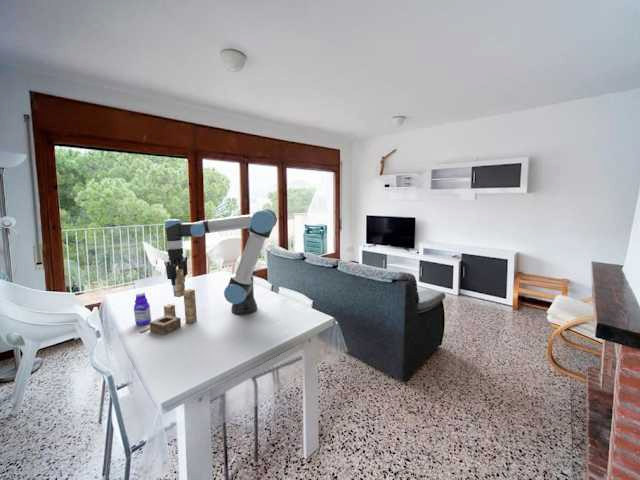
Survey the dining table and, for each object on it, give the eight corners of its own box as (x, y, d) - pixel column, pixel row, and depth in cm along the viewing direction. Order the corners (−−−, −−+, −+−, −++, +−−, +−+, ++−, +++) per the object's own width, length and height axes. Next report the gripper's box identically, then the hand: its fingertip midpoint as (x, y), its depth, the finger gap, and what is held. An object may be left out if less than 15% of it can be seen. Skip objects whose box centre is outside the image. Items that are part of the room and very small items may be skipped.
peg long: (191, 319, 161) (189, 288, 158) (196, 320, 159) (194, 289, 157) (185, 322, 157) (183, 291, 154) (191, 323, 156) (189, 292, 153)
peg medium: (179, 294, 162) (177, 268, 159) (185, 294, 160) (182, 268, 158) (174, 296, 158) (171, 270, 156) (179, 297, 156) (176, 270, 154)
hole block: (167, 323, 155) (166, 315, 155) (181, 326, 152) (180, 317, 151) (150, 331, 146) (149, 322, 146) (164, 335, 143) (163, 325, 142)
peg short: (170, 315, 167) (169, 303, 166) (175, 316, 165) (174, 304, 164) (164, 318, 163) (163, 306, 162) (169, 319, 161) (168, 307, 160)
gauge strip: (165, 320, 159) (165, 320, 159) (167, 321, 159) (167, 320, 159) (140, 332, 146) (140, 331, 145) (142, 332, 145) (142, 332, 145)
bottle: (134, 326, 152) (130, 295, 150) (137, 322, 158) (134, 291, 155) (149, 324, 154) (146, 294, 151) (152, 320, 159) (149, 290, 157)
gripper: (182, 245, 164) (186, 284, 168) (156, 250, 149) (160, 293, 152) (192, 245, 161) (196, 285, 165) (166, 251, 146) (171, 295, 149)
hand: (179, 289), depth 159 cm, fingers closed on peg medium, 4 cm apart
